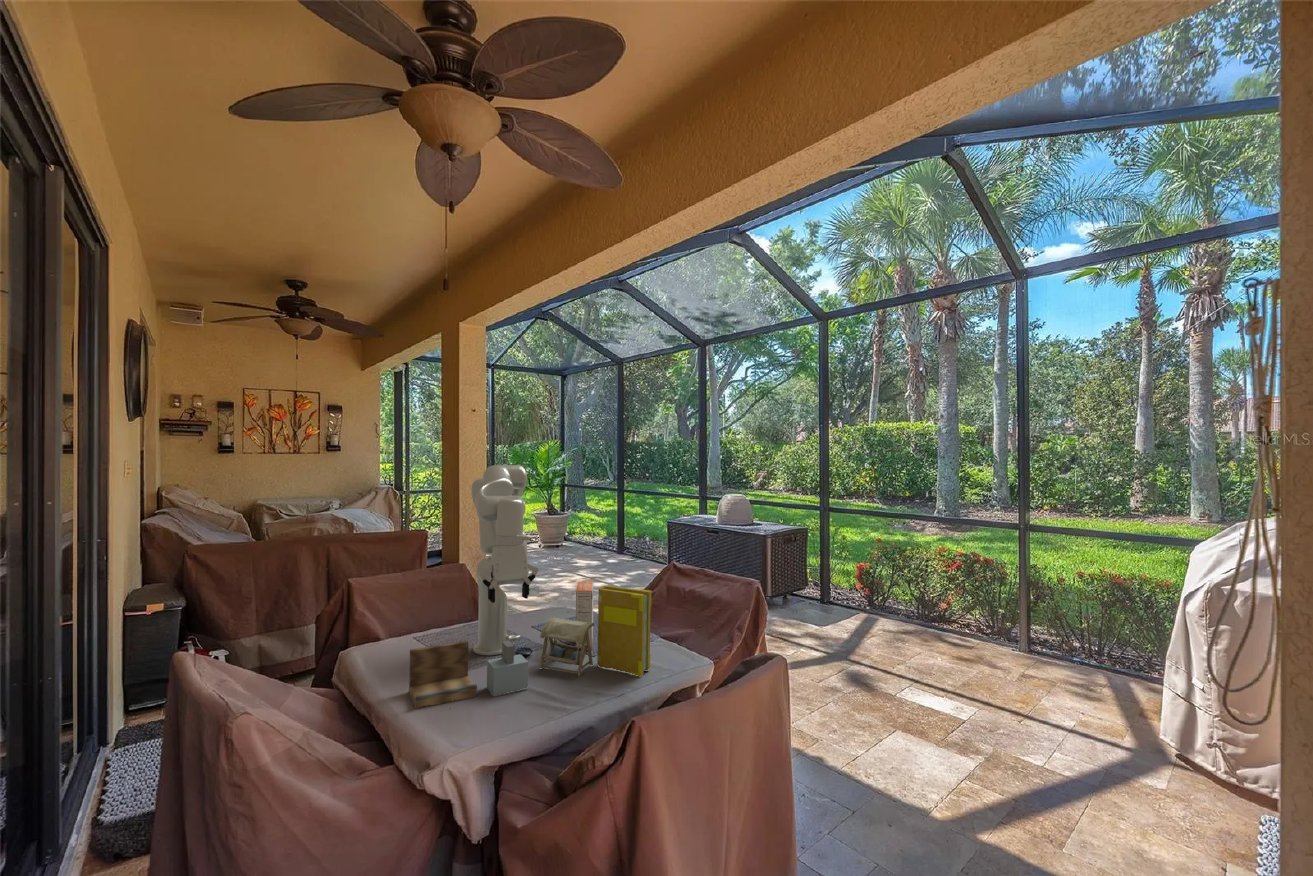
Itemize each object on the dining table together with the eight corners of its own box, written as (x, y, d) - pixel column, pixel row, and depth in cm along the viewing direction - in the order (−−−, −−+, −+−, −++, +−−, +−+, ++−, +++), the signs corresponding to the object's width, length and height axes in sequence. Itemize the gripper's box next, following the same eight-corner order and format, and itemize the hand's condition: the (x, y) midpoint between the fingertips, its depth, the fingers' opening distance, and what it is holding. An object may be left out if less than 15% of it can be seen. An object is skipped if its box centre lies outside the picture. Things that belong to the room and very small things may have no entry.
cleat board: (466, 681, 175) (467, 640, 175) (476, 696, 164) (477, 653, 164) (409, 692, 166) (409, 649, 166) (415, 708, 156) (416, 663, 156)
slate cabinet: (520, 681, 175) (520, 637, 176) (527, 689, 169) (528, 644, 170) (486, 687, 170) (487, 643, 170) (493, 696, 164) (494, 650, 164)
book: (650, 669, 185) (651, 590, 186) (640, 677, 179) (642, 595, 180) (603, 660, 192) (605, 584, 193) (593, 667, 186) (594, 589, 187)
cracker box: (576, 637, 215) (577, 580, 215) (593, 637, 216) (593, 580, 216) (574, 651, 201) (575, 590, 201) (592, 650, 202) (593, 590, 202)
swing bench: (538, 670, 184) (539, 623, 184) (553, 660, 193) (554, 615, 193) (580, 677, 179) (581, 629, 179) (594, 666, 188) (594, 620, 188)
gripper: (534, 537, 178) (533, 593, 178) (476, 541, 169) (475, 600, 169) (542, 540, 172) (541, 599, 171) (483, 544, 163) (482, 606, 162)
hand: (508, 599), depth 170 cm, fingers open, 9 cm apart
